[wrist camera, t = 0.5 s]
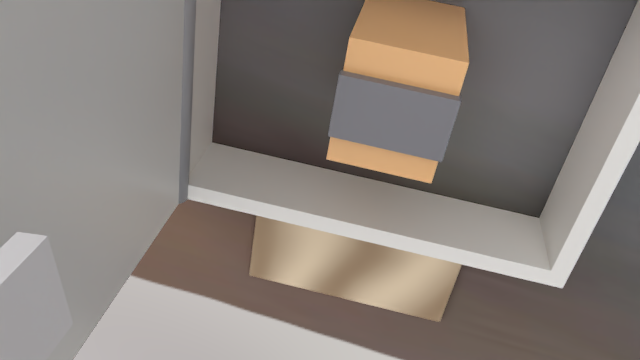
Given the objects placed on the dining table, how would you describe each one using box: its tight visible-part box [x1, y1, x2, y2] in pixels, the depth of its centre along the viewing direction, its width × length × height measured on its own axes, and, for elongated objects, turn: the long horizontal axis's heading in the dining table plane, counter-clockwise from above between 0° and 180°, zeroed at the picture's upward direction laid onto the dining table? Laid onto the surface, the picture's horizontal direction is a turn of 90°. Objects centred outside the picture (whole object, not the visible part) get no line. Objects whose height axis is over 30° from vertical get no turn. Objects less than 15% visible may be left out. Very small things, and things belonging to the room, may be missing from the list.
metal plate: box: [249, 215, 462, 322], centre depth 41 cm, size 14×7×1 cm, turn 81°
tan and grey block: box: [326, 0, 469, 183], centre depth 29 cm, size 5×6×8 cm
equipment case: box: [0, 0, 640, 360], centre depth 23 cm, size 23×21×21 cm
